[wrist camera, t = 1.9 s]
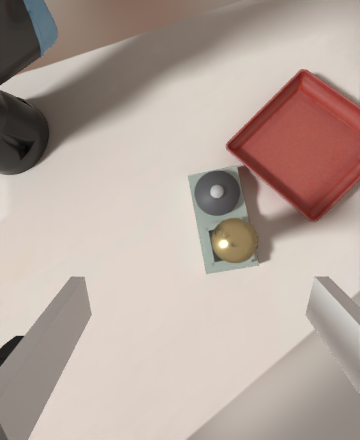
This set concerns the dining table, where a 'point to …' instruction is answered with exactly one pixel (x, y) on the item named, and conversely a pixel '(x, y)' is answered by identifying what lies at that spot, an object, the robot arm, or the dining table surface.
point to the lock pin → (234, 240)
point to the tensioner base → (218, 212)
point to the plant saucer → (304, 144)
